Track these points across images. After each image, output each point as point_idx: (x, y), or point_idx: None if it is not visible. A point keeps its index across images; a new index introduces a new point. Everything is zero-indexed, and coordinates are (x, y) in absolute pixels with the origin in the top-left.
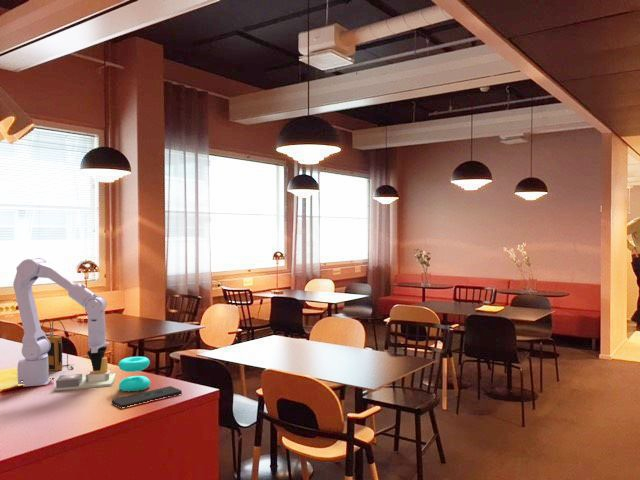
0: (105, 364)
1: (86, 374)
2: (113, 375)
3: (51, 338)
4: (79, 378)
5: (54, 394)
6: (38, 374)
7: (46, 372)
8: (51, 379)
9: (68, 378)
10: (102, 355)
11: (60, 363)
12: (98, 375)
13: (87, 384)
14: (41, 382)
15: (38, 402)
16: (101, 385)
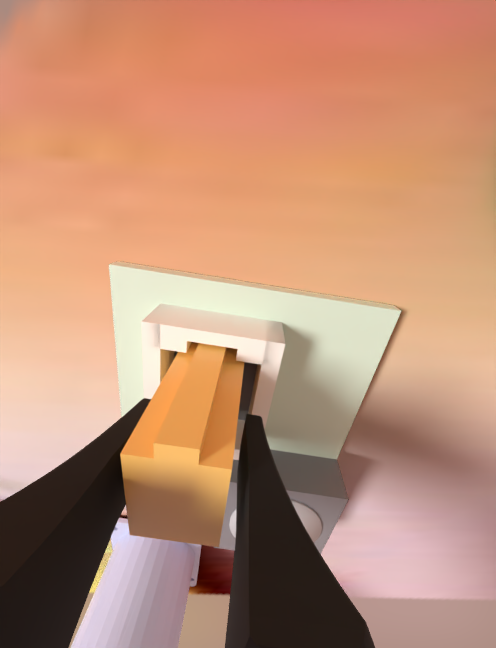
0: (213, 403)
1: (234, 459)
2: (173, 286)
3: None
4: (316, 489)
5: (365, 515)
6: (182, 603)
7: (157, 587)
8: (126, 520)
9: (312, 532)
10: (334, 577)
11: None
12: (269, 399)
13: (326, 427)
14: (188, 550)
15: (442, 549)
16: (374, 364)
